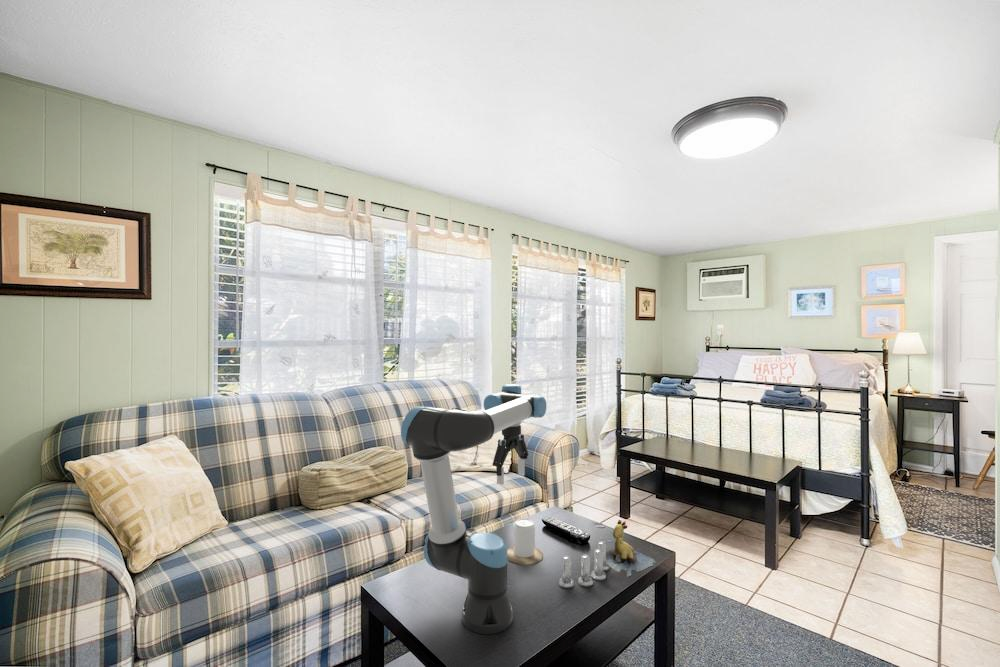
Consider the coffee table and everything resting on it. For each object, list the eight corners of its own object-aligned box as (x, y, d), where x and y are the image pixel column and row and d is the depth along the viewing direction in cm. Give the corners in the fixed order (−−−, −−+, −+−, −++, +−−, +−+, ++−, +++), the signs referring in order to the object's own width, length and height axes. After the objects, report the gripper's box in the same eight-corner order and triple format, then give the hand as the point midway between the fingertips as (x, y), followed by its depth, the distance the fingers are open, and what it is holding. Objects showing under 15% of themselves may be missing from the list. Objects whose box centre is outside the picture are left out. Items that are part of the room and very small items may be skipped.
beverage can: (535, 559, 167) (535, 527, 167) (513, 558, 168) (513, 526, 168) (534, 548, 175) (534, 518, 175) (513, 548, 176) (514, 517, 176)
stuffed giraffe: (593, 558, 170) (595, 516, 170) (624, 547, 180) (626, 508, 180) (627, 579, 157) (630, 533, 156) (659, 565, 167) (661, 523, 167)
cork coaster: (529, 568, 162) (529, 567, 162) (498, 557, 170) (498, 555, 170) (549, 554, 173) (549, 552, 173) (519, 543, 181) (519, 542, 181)
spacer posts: (587, 597, 144) (587, 569, 144) (556, 584, 151) (556, 558, 151) (615, 568, 162) (615, 543, 162) (587, 558, 169) (587, 534, 169)
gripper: (521, 418, 185) (521, 469, 185) (483, 428, 166) (482, 485, 165) (537, 420, 181) (536, 473, 181) (499, 431, 161) (498, 490, 161)
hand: (511, 479), depth 173 cm, fingers open, 13 cm apart
